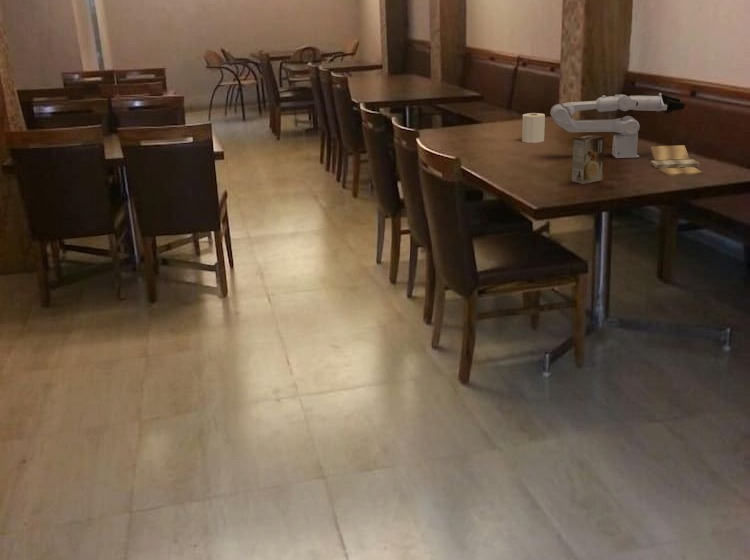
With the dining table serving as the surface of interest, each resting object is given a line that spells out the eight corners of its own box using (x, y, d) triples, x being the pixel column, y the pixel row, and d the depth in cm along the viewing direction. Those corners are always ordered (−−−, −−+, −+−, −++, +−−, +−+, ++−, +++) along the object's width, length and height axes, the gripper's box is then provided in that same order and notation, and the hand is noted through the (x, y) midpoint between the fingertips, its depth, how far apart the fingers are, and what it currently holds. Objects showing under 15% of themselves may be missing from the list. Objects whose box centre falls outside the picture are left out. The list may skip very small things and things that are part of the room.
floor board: (656, 168, 291) (656, 164, 290) (650, 164, 298) (650, 159, 298) (699, 167, 290) (699, 162, 289) (692, 162, 297) (692, 158, 296)
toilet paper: (537, 138, 359) (537, 112, 355) (548, 141, 350) (549, 115, 346) (517, 140, 356) (518, 114, 352) (528, 144, 347) (529, 117, 343)
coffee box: (590, 177, 283) (592, 134, 277) (602, 180, 277) (605, 136, 272) (571, 181, 279) (572, 137, 273) (583, 184, 273) (585, 139, 268)
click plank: (655, 163, 299) (655, 160, 298) (650, 148, 305) (651, 146, 304) (689, 162, 298) (690, 159, 297) (683, 147, 304) (684, 145, 303)
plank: (667, 177, 280) (667, 174, 279) (658, 171, 288) (659, 168, 288) (703, 175, 279) (703, 172, 279) (693, 170, 288) (693, 167, 287)
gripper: (651, 97, 297) (688, 97, 296) (644, 89, 310) (679, 89, 309) (649, 115, 300) (684, 116, 299) (641, 106, 313) (676, 107, 312)
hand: (681, 103), depth 304 cm, fingers open, 7 cm apart
